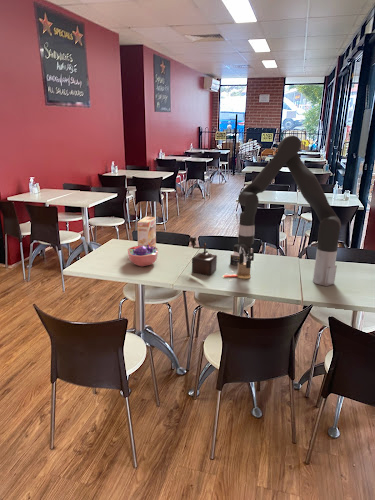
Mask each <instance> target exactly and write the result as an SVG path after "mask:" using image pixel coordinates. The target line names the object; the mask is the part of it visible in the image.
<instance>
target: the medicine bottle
mask: <svg viewBox="0 0 375 500" xmlns="http://www.w3.org/2000/svg"><path fill="white" fill-rule="evenodd" d="M237 249H238V243H237V244H234V245H233V252H232V253H231V254H230V260H229V265H232V266H237V267H238V263H240V262H239V253H238V252H237ZM239 250H240V249H239ZM243 263H246V257H245V256H244V262H243Z"/></svg>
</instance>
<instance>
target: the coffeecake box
mask: <svg viewBox="0 0 375 500" xmlns="http://www.w3.org/2000/svg"><path fill="white" fill-rule="evenodd" d="M156 221H157V218H156V216H144V217H143V218H141V219H139V220H138V221H137V246H140V245H149V246H154V247H156V248H157V236H156V234H157V222H156Z"/></svg>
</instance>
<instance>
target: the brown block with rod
mask: <svg viewBox="0 0 375 500" xmlns="http://www.w3.org/2000/svg"><path fill="white" fill-rule="evenodd" d="M236 271H237V272H236V274H224V275H223V276H224V277H231V278H237V279H239V280H250V279H251V275H252V274H251V268H246V263H238V266H237V270H236Z"/></svg>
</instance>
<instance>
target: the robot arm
mask: <svg viewBox="0 0 375 500" xmlns="http://www.w3.org/2000/svg"><path fill="white" fill-rule="evenodd" d="M301 148H302V143H301V139H300V138H299V137H298V136H296V135H293V134H292V135H288V136H285V137H284V138H283V139H281V141H280V142H279V143H278V145H277V151H276V153H275V155H274V156H273V157H272V158H271V160H270V161H269V162H268V163H267V164H266V165H265V166H264V167H263V168H262V169H261V171H260V172H259V173H257V175H256V177H255V178H254V179H253V181H252V182H251V183H249V184H248V185H247V186H246V187H245V188H243V190H241V192H240V193H239V195H238V197H237V202H238V204H239V205H241V206H243V207H244V211H241V212H240V214H239V223H238V225H239V226H238V233H237V234H238V236H237V237H238V239H237V240H238V242H237V244H238V249H237V252H238V253H239V262H240V263H243V262H244V256H245V257H246V268H250V269H251V268H252V266H251V265H252V262H253V261H254V259H255V257H254V256H255V249H254V248H252V245H253V244H254V242H255V217H256V214H257V210H258V207H259V203H260V202H259V201H260V200H259V197H258V194H260V193H264V192H265V191H266V189H267V188H268V187H269V186H270V184H272V182H273V181H274V179H275V178H276V176H277V175H278V174H279V172H280V171H281V169H283V167H284V166H285V165H286V167H287V169H288V170H289V172H290V174H291V176H292V178H293V180H294V182H295V183H296V185H297V188H298V190H299V192H300V193H301V195H302V197H303V199H304V200H305V201H306V202H307V204H308V205H309V206H310V207H311V208H312V209H313V210H314V212H315V214H316V216H317V218H318V220H319V225H318V234H317V241H316V242H317V244H316V254H315V262H314V268H313V277H312V282H313V283H314V284H316V285H319V286H325V287H329V286H333V285H334V284H335V281H336V273H337V265H336V262H337V256H338V255H337V253H338V248H339V239H340V238H339V237H340V231H341V228H342V221H341V219H340V218H339V217H338V215H337V214H336V212H335V210H334V209H333V208H332V206H331V205H330V203H329V200H328V198H327V195H326V194H325V192H324V190H323V187H322V186H321V183H320V182H319V180H318V178H317V177H316V175H315V174H314V173H313V172H312V170H310V169H309V168H308V167H307V166H306V165H305V164H304V163H303V161H302V158H301V157H300V154H299V151H300V150H301ZM239 249H240V250H239Z"/></svg>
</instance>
